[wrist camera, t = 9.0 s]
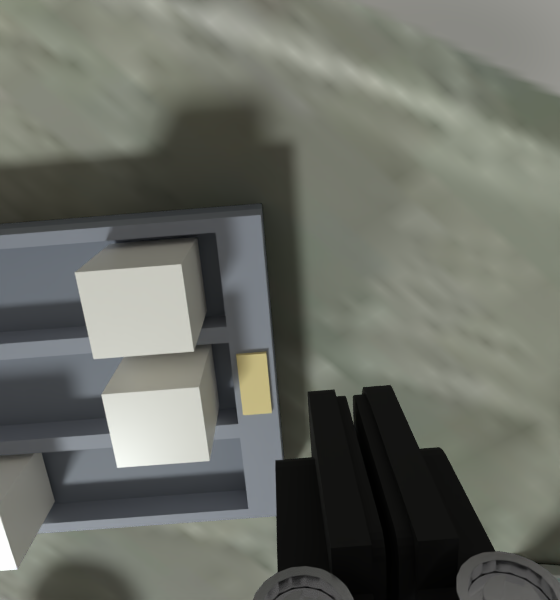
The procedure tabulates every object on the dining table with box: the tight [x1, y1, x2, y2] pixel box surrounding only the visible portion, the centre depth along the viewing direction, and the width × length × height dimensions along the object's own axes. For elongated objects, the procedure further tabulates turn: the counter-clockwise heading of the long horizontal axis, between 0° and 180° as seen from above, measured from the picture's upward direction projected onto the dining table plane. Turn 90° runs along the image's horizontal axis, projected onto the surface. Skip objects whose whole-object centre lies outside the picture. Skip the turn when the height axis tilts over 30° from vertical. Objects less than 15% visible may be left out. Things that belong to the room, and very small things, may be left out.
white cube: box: [75, 237, 207, 359], centre depth 22 cm, size 4×4×4 cm
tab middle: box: [101, 344, 219, 468], centre depth 24 cm, size 4×4×4 cm
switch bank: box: [0, 203, 284, 534], centre depth 26 cm, size 20×16×3 cm
